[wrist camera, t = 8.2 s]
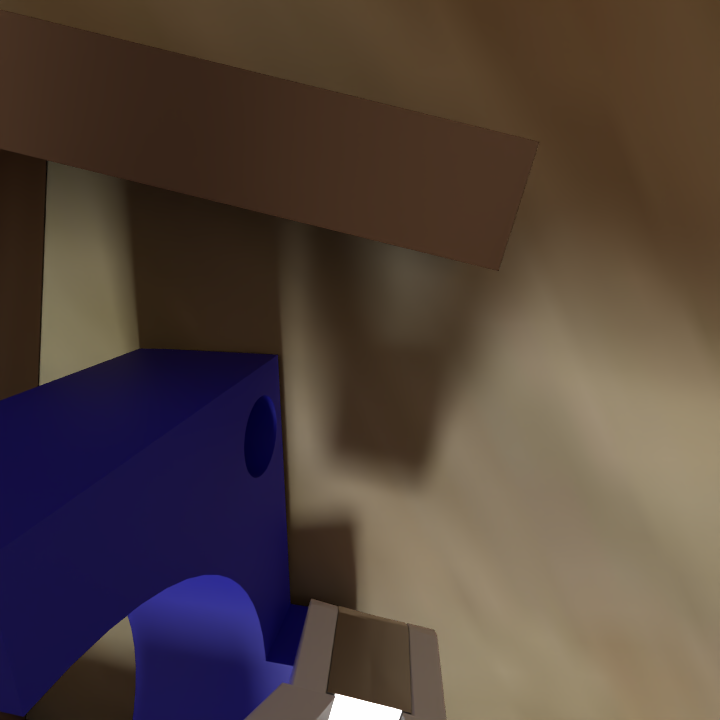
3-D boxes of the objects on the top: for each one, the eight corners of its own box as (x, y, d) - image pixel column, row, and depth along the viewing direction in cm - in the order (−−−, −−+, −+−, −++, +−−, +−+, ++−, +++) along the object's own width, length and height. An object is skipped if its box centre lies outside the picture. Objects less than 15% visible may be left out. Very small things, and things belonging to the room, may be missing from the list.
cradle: (486, 173, 8) (539, 141, 5) (294, 830, 13) (268, 998, 10) (-33, 46, 8) (-266, -56, 5) (-28, 751, 13) (-145, 898, 10)
